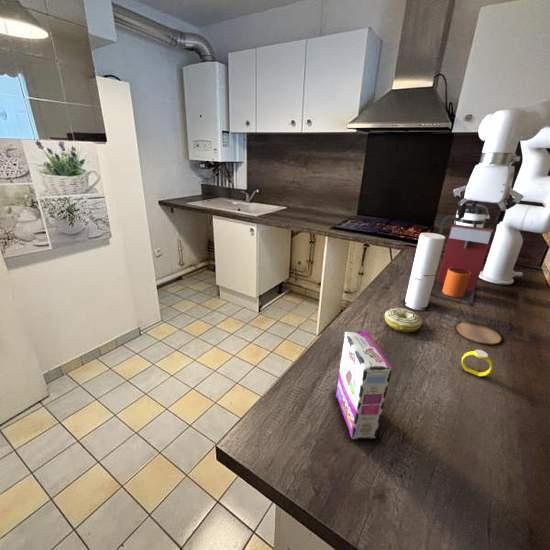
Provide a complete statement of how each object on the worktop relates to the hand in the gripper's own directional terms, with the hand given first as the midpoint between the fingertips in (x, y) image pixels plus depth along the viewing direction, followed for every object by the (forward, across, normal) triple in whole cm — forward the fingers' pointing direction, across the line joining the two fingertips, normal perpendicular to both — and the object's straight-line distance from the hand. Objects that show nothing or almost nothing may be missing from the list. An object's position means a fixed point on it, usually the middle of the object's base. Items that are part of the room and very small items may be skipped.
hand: (478, 220), depth 88 cm
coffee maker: (+31, +5, -16) cm, 35 cm away
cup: (+30, +4, -11) cm, 32 cm away
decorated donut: (+31, +6, +23) cm, 39 cm away
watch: (+31, -16, +31) cm, 46 cm away
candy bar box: (+30, -4, +63) cm, 70 cm away
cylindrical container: (+31, +9, +7) cm, 33 cm away
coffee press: (+31, +19, -59) cm, 69 cm away
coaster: (+30, -11, +10) cm, 34 cm away
